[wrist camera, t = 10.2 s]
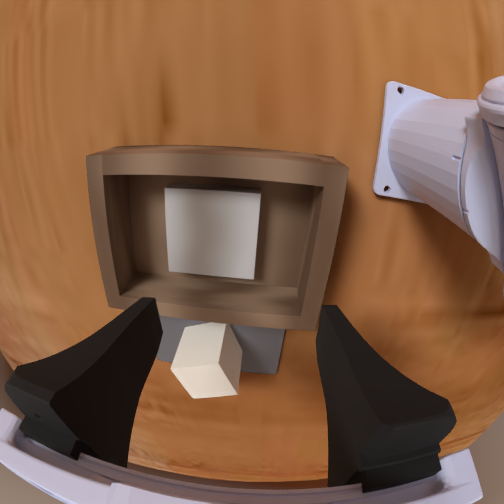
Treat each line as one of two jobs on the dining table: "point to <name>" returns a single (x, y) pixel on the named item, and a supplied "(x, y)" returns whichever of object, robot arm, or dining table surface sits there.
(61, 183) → the dining table surface
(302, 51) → the dining table surface
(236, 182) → the walnut box
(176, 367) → the cream block
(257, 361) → the charcoal mat
